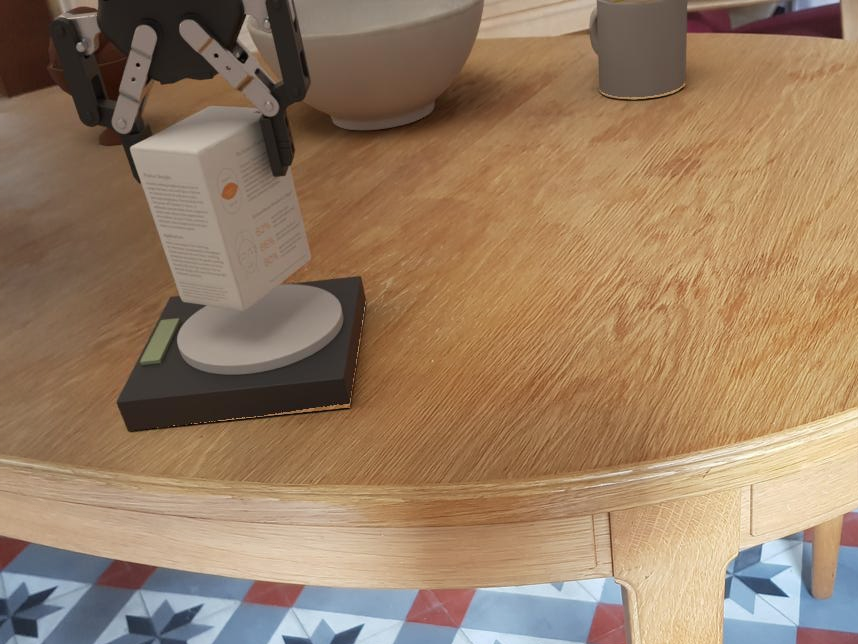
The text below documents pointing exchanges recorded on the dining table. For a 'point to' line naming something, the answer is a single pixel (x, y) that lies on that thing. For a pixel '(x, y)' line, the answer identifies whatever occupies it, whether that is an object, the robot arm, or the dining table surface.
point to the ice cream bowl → (110, 69)
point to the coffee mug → (640, 46)
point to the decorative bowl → (378, 56)
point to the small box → (221, 208)
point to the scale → (248, 357)
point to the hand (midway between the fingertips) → (219, 179)
